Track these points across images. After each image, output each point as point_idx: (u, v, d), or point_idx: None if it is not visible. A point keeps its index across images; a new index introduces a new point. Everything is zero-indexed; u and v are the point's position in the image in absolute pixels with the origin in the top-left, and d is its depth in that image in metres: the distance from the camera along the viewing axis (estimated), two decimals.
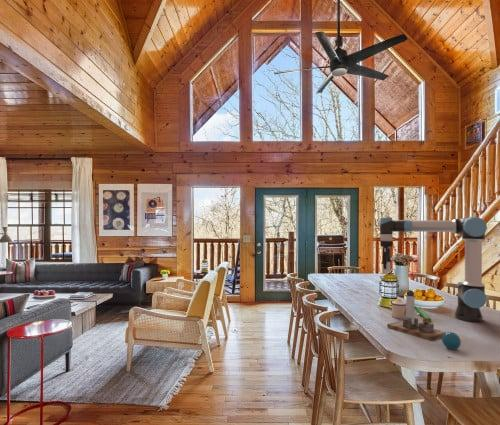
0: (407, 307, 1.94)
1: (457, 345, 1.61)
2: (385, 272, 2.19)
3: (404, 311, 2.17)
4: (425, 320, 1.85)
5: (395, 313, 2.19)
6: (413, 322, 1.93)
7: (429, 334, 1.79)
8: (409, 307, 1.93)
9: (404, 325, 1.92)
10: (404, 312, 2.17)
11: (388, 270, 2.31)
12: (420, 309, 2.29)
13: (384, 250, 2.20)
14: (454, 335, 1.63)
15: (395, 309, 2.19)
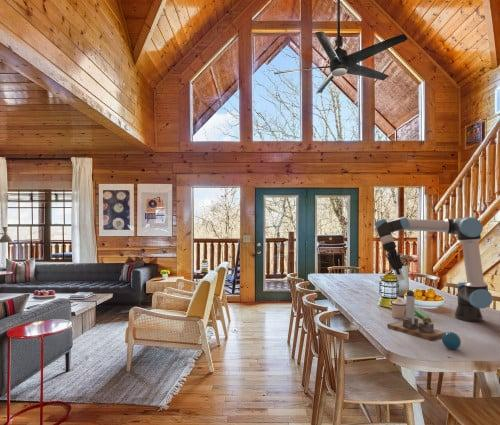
0: (407, 307, 1.94)
1: (457, 345, 1.61)
2: (401, 278, 2.07)
3: (404, 311, 2.17)
4: (425, 320, 1.85)
5: (395, 313, 2.19)
6: (413, 322, 1.93)
7: (429, 334, 1.79)
8: (409, 307, 1.93)
9: (404, 325, 1.92)
10: (404, 312, 2.17)
11: None
12: (415, 309, 2.29)
13: (387, 256, 2.09)
14: (454, 335, 1.63)
15: (395, 309, 2.19)
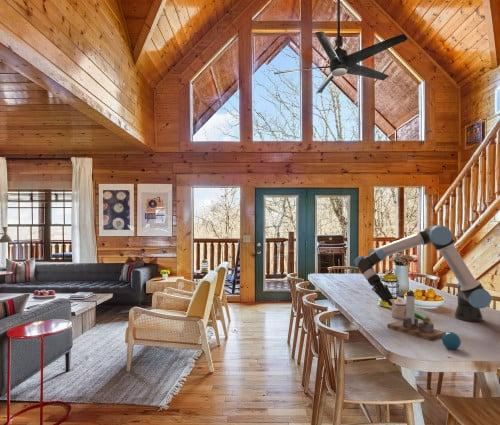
0: (407, 307, 1.94)
1: (457, 345, 1.61)
2: (394, 308, 2.02)
3: (404, 311, 2.17)
4: (425, 320, 1.85)
5: (395, 313, 2.19)
6: (413, 322, 1.93)
7: (429, 334, 1.79)
8: (409, 307, 1.93)
9: (404, 325, 1.92)
10: (404, 312, 2.17)
11: None
12: None
13: (374, 289, 2.08)
14: (454, 335, 1.63)
15: None
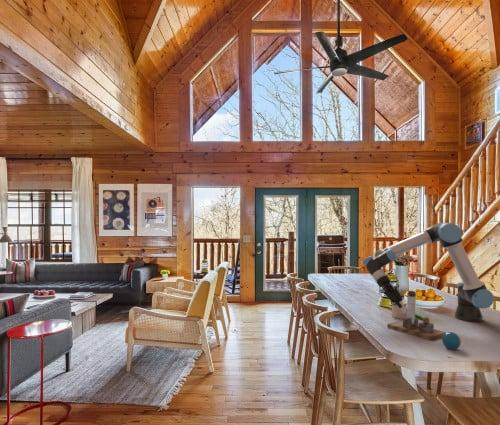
0: (408, 307, 1.93)
1: (457, 345, 1.61)
2: (404, 310, 1.96)
3: None
4: (425, 320, 1.85)
5: (395, 313, 2.19)
6: (413, 322, 1.93)
7: (429, 334, 1.79)
8: (410, 307, 1.92)
9: (404, 325, 1.92)
10: None
11: None
12: None
13: (383, 291, 2.02)
14: (454, 335, 1.63)
15: (395, 309, 2.19)
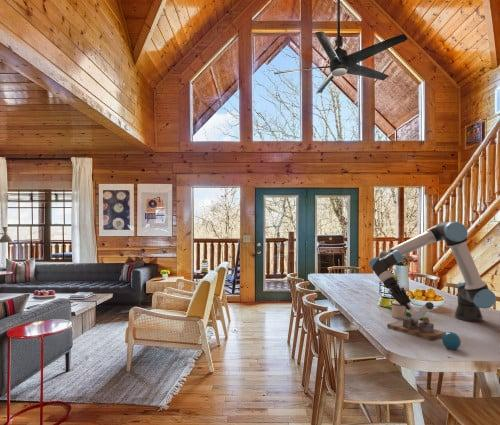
0: (417, 312, 1.89)
1: (457, 345, 1.61)
2: (412, 312, 1.92)
3: (404, 311, 2.17)
4: (425, 320, 1.85)
5: (395, 313, 2.19)
6: (412, 324, 1.93)
7: (429, 334, 1.79)
8: (419, 314, 1.88)
9: (404, 325, 1.92)
10: (404, 312, 2.17)
11: None
12: None
13: (390, 292, 1.98)
14: (454, 335, 1.63)
15: (395, 309, 2.19)
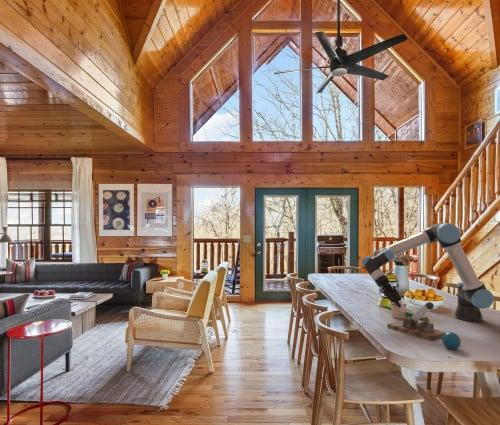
0: (417, 312, 1.89)
1: (457, 345, 1.61)
2: (403, 309, 1.97)
3: None
4: (425, 320, 1.85)
5: (394, 313, 2.18)
6: (412, 324, 1.93)
7: (429, 334, 1.79)
8: (419, 314, 1.88)
9: (404, 325, 1.92)
10: None
11: None
12: None
13: (382, 290, 2.03)
14: (454, 335, 1.63)
15: (395, 309, 2.18)
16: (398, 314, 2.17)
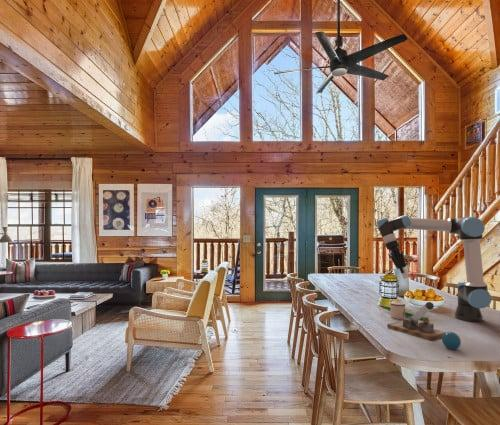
0: (417, 312, 1.89)
1: (457, 345, 1.61)
2: (405, 276, 2.08)
3: (403, 311, 2.17)
4: (425, 320, 1.85)
5: (393, 314, 2.18)
6: (412, 324, 1.93)
7: (429, 334, 1.79)
8: (419, 314, 1.88)
9: (404, 325, 1.92)
10: (403, 312, 2.17)
11: None
12: None
13: (390, 255, 2.10)
14: (454, 335, 1.63)
15: (394, 309, 2.18)
16: (397, 314, 2.17)
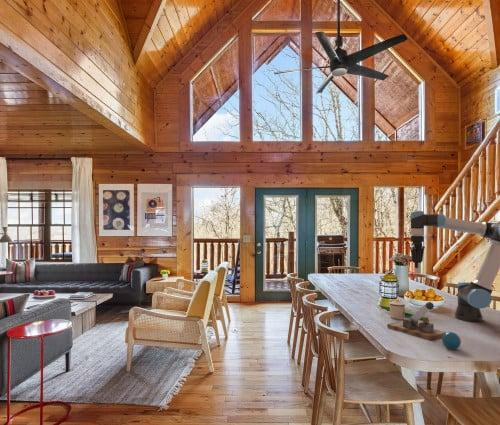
0: (417, 312, 1.89)
1: (457, 345, 1.61)
2: (417, 271, 2.14)
3: (402, 312, 2.16)
4: (425, 320, 1.85)
5: (393, 314, 2.17)
6: (412, 324, 1.93)
7: (429, 334, 1.79)
8: (419, 314, 1.88)
9: (404, 325, 1.92)
10: (402, 313, 2.16)
11: None
12: None
13: (411, 249, 2.12)
14: (454, 335, 1.63)
15: (394, 309, 2.17)
16: (397, 314, 2.16)
